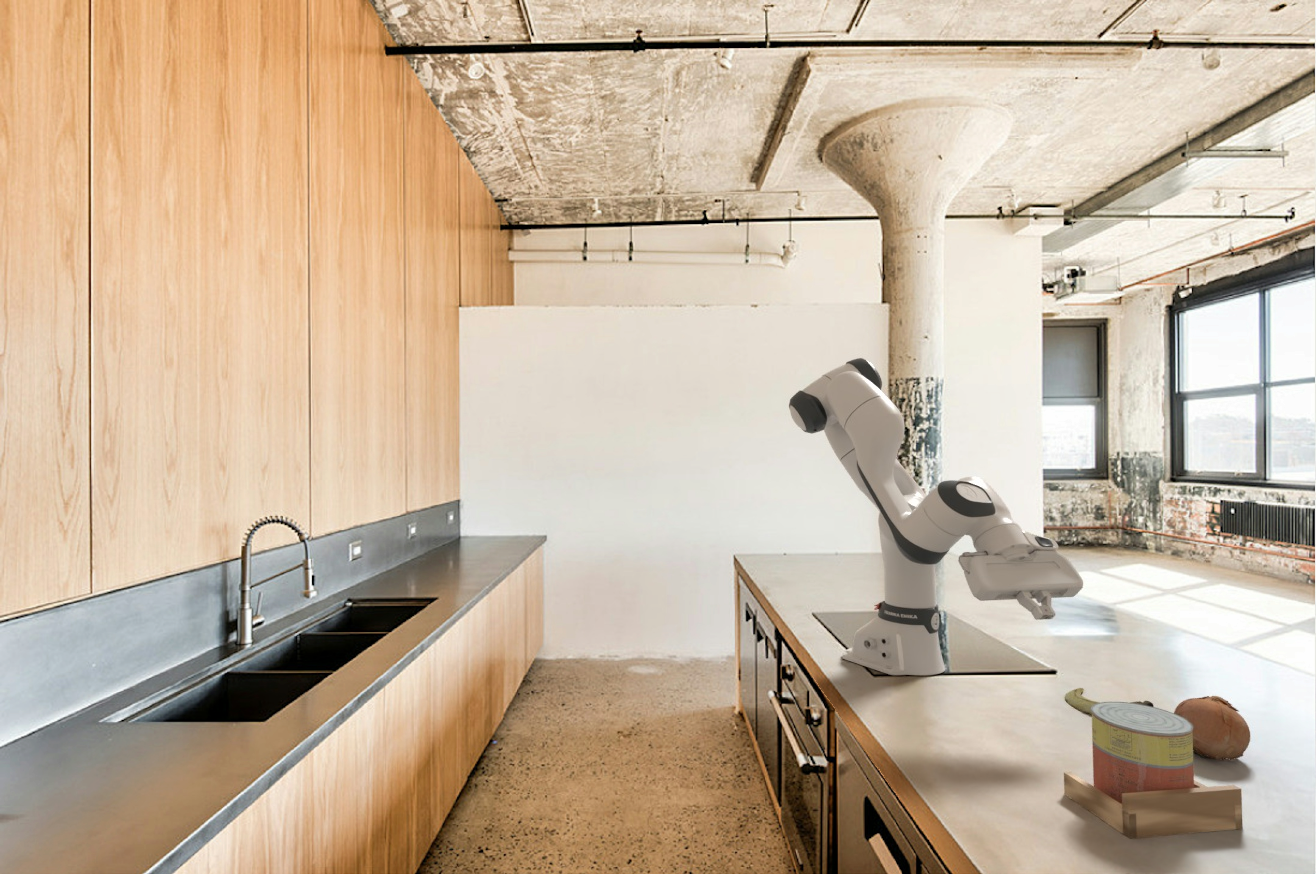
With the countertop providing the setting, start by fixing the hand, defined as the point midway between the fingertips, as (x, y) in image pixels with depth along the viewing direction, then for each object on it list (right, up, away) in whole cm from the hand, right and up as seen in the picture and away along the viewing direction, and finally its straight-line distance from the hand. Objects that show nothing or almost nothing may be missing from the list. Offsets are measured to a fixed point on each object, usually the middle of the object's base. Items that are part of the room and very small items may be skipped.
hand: (1046, 617), depth 112 cm
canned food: (0, -20, -22) cm, 30 cm away
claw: (+19, -21, +12) cm, 31 cm away
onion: (+22, -20, -7) cm, 31 cm away
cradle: (0, -20, -23) cm, 30 cm away
